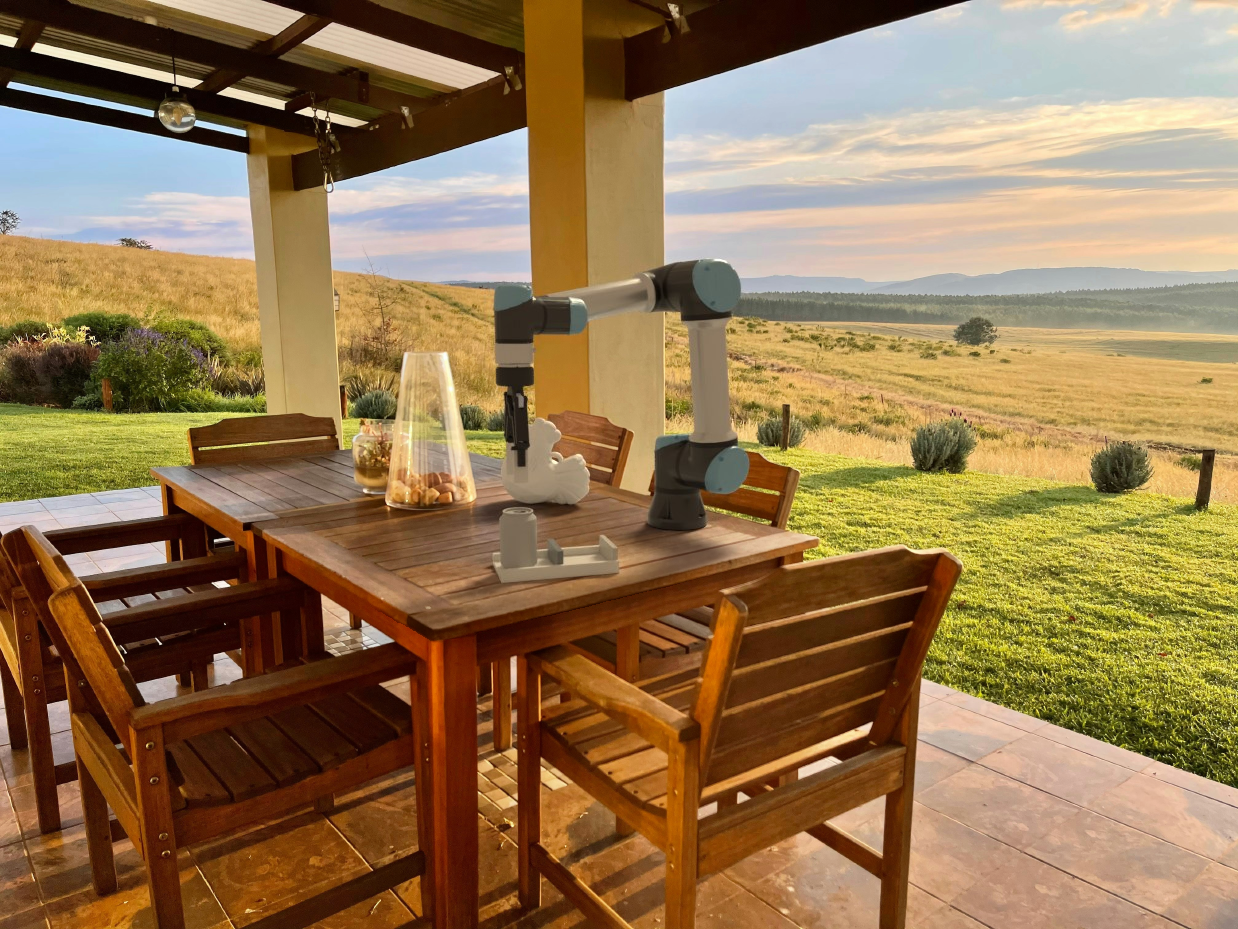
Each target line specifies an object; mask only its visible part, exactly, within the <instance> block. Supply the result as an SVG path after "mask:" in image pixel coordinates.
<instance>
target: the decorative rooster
mask: <svg viewBox="0 0 1238 929" xmlns="http://www.w3.org/2000/svg"><path fill="white" fill-rule="evenodd" d="M528 428H529V443H530V447H529V448H528V483H514V474H513V475H507V471H506V456H505V457H504V459H503V461H502V463H501V468H500V477H501V480H502V486H503V489H505V491H506V492H507V493H508V494H509V495H510V497H511V498H513V499H514V500H516V501H518V502H520V503H523V504H529V505H530V504H532V505H533V504H539V503H545V502H550V501H554V502H555V503H557V504H559V505H565V504H568V505H575V504H576V503H578V502H579V501H581V499H584V498H585V497H586V495H588V493H589V492H590V486H589V484H590V476H591V474H590V471H589V470H588V467H586V466H587V462H586V460H585V459H584V457H583V455H582V454H580V453H577V454H573V455H570V456H568V457H566V458H564V457H563V455H562V454H561V453H560V452H557V451H552V450H553V447H554V445H555V444H556V443H557V442H559V441H561V438H562V433H561V431H560V430H559V429H557V426H556V425H555V423H553V422H552V421H550V420H546V419H544V418H543V417H536V418H535V419H534V421H533V423H532V424H529V423H528ZM553 457H555V458H557V460H558V461H556V460H554V459H552V458H553Z"/></svg>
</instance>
